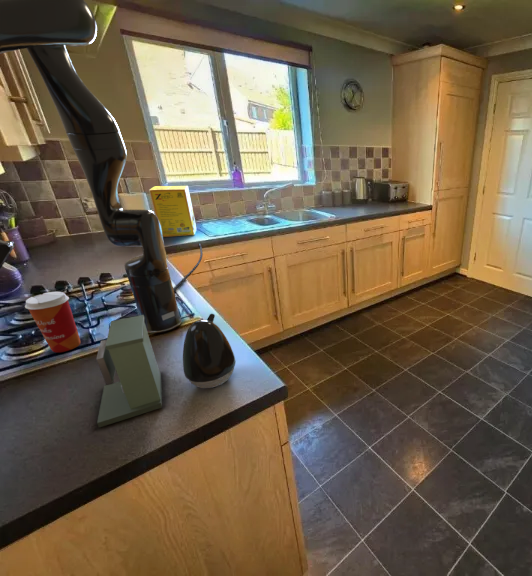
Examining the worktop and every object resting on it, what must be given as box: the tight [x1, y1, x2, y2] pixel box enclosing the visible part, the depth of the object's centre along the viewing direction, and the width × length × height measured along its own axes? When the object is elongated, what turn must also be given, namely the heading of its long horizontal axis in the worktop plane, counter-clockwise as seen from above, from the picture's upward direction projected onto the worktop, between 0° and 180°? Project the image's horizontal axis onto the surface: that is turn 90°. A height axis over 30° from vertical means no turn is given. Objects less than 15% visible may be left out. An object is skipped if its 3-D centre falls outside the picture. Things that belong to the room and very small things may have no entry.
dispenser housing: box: [96, 315, 163, 428], centre depth 65 cm, size 12×10×16 cm
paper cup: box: [24, 291, 81, 353], centre depth 81 cm, size 8×8×14 cm
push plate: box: [95, 339, 116, 385], centre depth 63 cm, size 7×1×6 cm, turn 33°
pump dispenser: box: [182, 313, 237, 389], centre depth 71 cm, size 10×10×15 cm
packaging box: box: [148, 185, 197, 238], centre depth 183 cm, size 16×16×25 cm
